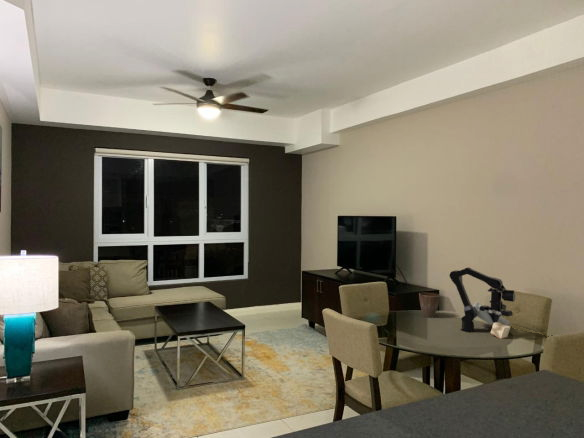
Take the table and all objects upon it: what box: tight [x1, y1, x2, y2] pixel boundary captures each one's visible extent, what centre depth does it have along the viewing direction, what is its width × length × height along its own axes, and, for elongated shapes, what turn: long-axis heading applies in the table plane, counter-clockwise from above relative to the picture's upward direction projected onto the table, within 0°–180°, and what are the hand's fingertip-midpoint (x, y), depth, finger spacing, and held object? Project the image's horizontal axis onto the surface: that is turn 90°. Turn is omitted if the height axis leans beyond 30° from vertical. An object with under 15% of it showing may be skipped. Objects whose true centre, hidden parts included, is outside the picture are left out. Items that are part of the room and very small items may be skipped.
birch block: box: [490, 322, 511, 340], centre depth 274 cm, size 7×7×7 cm
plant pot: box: [418, 292, 441, 319], centre depth 323 cm, size 15×15×16 cm
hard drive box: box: [472, 301, 511, 326], centre depth 293 cm, size 16×8×20 cm
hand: (495, 324), depth 277 cm, fingers closed
